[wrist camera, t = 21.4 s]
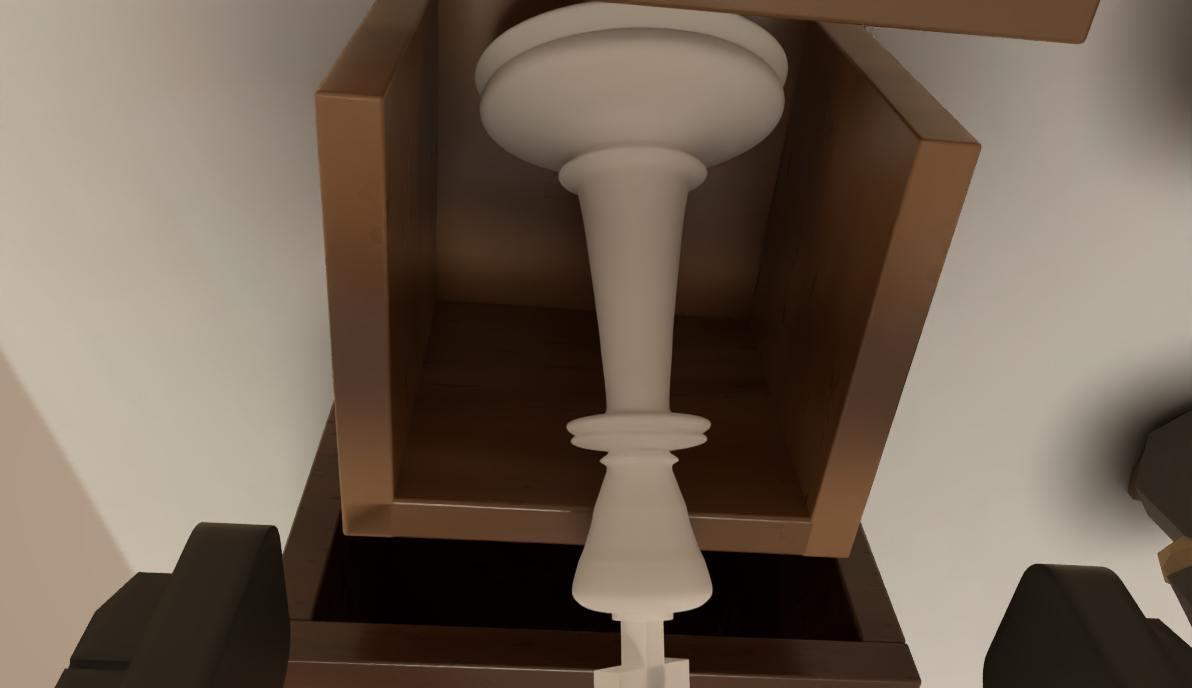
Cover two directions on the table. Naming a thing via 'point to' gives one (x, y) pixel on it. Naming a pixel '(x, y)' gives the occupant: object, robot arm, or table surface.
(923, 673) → the table surface
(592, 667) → the cabinet
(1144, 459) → the wizard figurine
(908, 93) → the drawer
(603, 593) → the chess piece
